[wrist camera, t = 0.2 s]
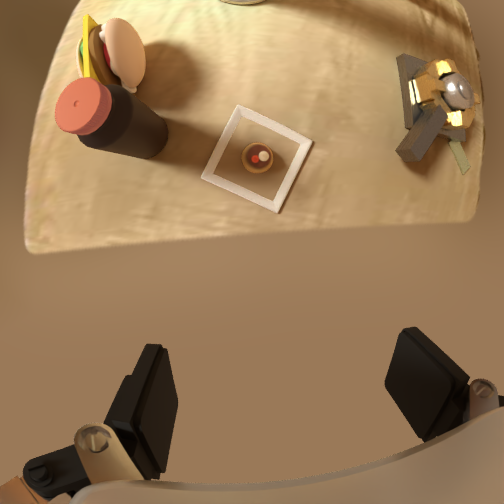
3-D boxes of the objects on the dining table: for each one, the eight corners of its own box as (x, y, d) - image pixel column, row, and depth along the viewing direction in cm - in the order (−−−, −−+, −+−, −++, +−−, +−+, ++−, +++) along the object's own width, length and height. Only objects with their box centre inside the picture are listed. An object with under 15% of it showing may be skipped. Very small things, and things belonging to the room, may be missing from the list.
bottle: (135, 167, 36) (56, 159, 17) (120, 129, 34) (40, 97, 15) (175, 145, 36) (122, 113, 16) (159, 107, 34) (101, 52, 15)
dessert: (201, 178, 38) (196, 177, 33) (237, 105, 35) (238, 96, 31) (276, 212, 40) (281, 217, 35) (311, 141, 37) (321, 136, 33)
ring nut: (429, 56, 30) (447, 47, 25) (467, 105, 33) (486, 101, 28) (372, 127, 34) (392, 121, 29) (420, 183, 36) (442, 185, 31)
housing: (396, 57, 33) (428, 37, 23) (461, 84, 34) (493, 74, 24) (406, 163, 38) (446, 162, 28) (469, 176, 39) (506, 179, 29)
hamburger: (157, 91, 33) (131, 61, 22) (109, 111, 33) (69, 91, 22) (147, 34, 30) (124, -3, 19) (102, 53, 30) (69, 24, 19)
